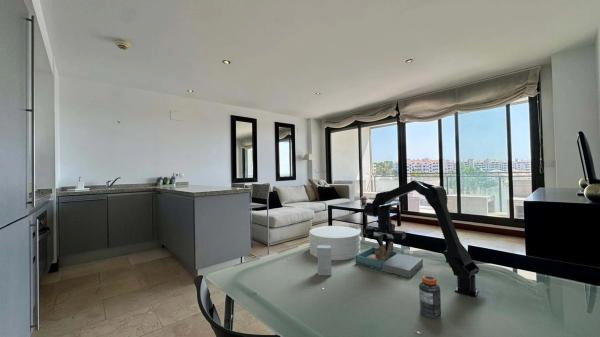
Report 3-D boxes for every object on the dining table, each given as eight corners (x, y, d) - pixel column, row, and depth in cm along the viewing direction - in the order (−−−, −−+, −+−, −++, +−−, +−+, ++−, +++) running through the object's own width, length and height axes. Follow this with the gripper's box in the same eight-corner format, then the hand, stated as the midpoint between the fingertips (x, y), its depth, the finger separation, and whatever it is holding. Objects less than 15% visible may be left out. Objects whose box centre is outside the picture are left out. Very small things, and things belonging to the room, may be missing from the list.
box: (381, 270, 114) (381, 261, 114) (355, 263, 123) (355, 255, 123) (396, 259, 128) (396, 251, 128) (372, 254, 136) (372, 246, 136)
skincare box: (331, 271, 114) (330, 245, 114) (331, 275, 110) (331, 248, 110) (317, 271, 114) (317, 245, 115) (317, 275, 110) (317, 247, 110)
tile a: (377, 264, 118) (377, 259, 118) (367, 262, 122) (367, 257, 122) (382, 261, 122) (382, 256, 122) (372, 259, 125) (372, 254, 125)
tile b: (384, 259, 124) (384, 254, 124) (375, 257, 128) (375, 252, 128) (389, 257, 128) (388, 252, 128) (379, 255, 131) (379, 250, 131)
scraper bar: (379, 259, 116) (379, 250, 116) (375, 258, 117) (375, 249, 117) (393, 250, 128) (393, 242, 128) (389, 249, 129) (389, 241, 129)
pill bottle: (434, 308, 83) (433, 273, 83) (445, 318, 77) (444, 281, 77) (416, 308, 83) (415, 274, 83) (425, 319, 77) (425, 281, 77)
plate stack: (301, 248, 149) (301, 229, 150) (341, 242, 161) (341, 224, 161) (326, 264, 124) (325, 240, 124) (371, 254, 136) (370, 233, 136)
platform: (409, 277, 106) (409, 270, 106) (382, 270, 114) (381, 263, 114) (422, 265, 120) (422, 258, 120) (397, 259, 128) (397, 253, 128)
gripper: (409, 217, 123) (410, 250, 122) (373, 214, 135) (374, 243, 135) (401, 221, 114) (401, 256, 114) (363, 217, 127) (364, 248, 127)
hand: (384, 250), depth 123 cm, fingers closed on scraper bar, 2 cm apart
